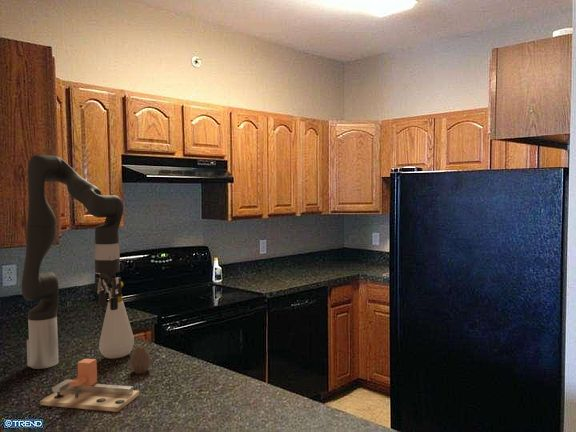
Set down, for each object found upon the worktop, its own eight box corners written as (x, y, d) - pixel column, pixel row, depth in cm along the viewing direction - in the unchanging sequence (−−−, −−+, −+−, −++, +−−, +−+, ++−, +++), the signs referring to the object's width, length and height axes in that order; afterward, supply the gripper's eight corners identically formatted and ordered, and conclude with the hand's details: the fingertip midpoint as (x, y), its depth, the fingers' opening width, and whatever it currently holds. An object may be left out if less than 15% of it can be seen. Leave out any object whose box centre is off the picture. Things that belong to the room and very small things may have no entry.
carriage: (68, 398, 143) (67, 368, 143) (85, 386, 152) (84, 358, 151) (80, 399, 142) (79, 368, 142) (97, 387, 151) (96, 359, 150)
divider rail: (48, 397, 145) (48, 387, 145) (65, 387, 152) (65, 377, 152) (119, 403, 140) (118, 392, 140) (133, 393, 147) (132, 382, 147)
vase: (129, 376, 164) (129, 350, 164) (130, 369, 171) (130, 344, 171) (151, 373, 166) (150, 348, 166) (151, 367, 173) (150, 342, 172)
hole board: (40, 404, 143) (40, 400, 143) (67, 388, 154) (66, 384, 154) (117, 411, 137) (117, 407, 137) (139, 394, 149) (139, 390, 149)
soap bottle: (103, 364, 176) (100, 284, 175) (96, 356, 185) (94, 280, 183) (139, 357, 183) (137, 280, 182) (131, 350, 192) (129, 276, 190)
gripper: (86, 256, 160) (87, 305, 160) (105, 260, 149) (106, 313, 150) (108, 254, 165) (109, 301, 166) (128, 258, 155) (129, 309, 156)
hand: (108, 307), depth 158 cm, fingers open, 8 cm apart
